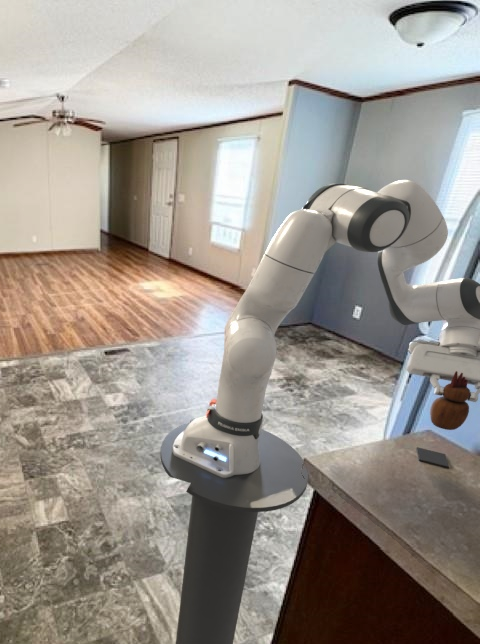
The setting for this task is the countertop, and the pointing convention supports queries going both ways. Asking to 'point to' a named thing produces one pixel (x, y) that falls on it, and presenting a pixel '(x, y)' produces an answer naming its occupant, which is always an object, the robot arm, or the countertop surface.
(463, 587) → the countertop surface
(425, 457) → the coaster
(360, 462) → the countertop surface
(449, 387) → the wooden figurine
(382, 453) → the countertop surface
